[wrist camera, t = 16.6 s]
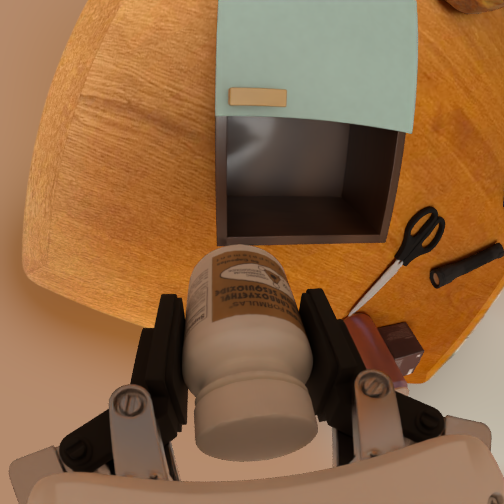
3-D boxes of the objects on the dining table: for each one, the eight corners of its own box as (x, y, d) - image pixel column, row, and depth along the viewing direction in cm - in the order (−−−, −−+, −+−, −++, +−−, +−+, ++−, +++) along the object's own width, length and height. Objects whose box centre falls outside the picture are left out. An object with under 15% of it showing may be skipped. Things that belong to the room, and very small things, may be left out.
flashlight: (430, 266, 40) (440, 277, 38) (495, 238, 39) (505, 247, 37) (429, 281, 42) (438, 292, 39) (493, 252, 41) (502, 261, 38)
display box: (217, 201, 32) (216, 246, 23) (217, 93, 26) (215, 91, 17) (344, 201, 33) (385, 242, 25) (355, 103, 28) (408, 111, 19)
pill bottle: (303, 264, 13) (366, 412, 7) (255, 329, 15) (279, 470, 8) (215, 224, 12) (217, 390, 5) (175, 301, 14) (158, 455, 7)
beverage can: (338, 314, 42) (375, 395, 29) (373, 308, 43) (416, 382, 30) (333, 341, 45) (364, 418, 32) (366, 334, 46) (402, 406, 33)
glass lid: (215, 115, 18) (213, 120, 14) (220, -35, 12) (221, -61, 9) (408, 132, 19) (440, 143, 16) (412, 2, 14) (444, -7, 10)
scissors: (362, 321, 44) (447, 224, 36) (364, 325, 43) (450, 227, 36) (334, 306, 41) (426, 198, 34) (336, 310, 40) (429, 201, 33)
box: (377, 326, 45) (395, 359, 39) (406, 320, 45) (425, 350, 39) (369, 351, 48) (384, 382, 42) (396, 344, 49) (413, 373, 42)
